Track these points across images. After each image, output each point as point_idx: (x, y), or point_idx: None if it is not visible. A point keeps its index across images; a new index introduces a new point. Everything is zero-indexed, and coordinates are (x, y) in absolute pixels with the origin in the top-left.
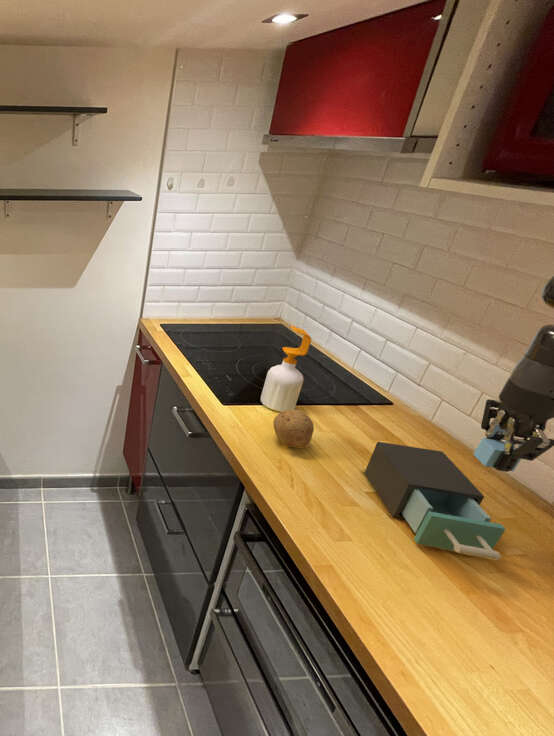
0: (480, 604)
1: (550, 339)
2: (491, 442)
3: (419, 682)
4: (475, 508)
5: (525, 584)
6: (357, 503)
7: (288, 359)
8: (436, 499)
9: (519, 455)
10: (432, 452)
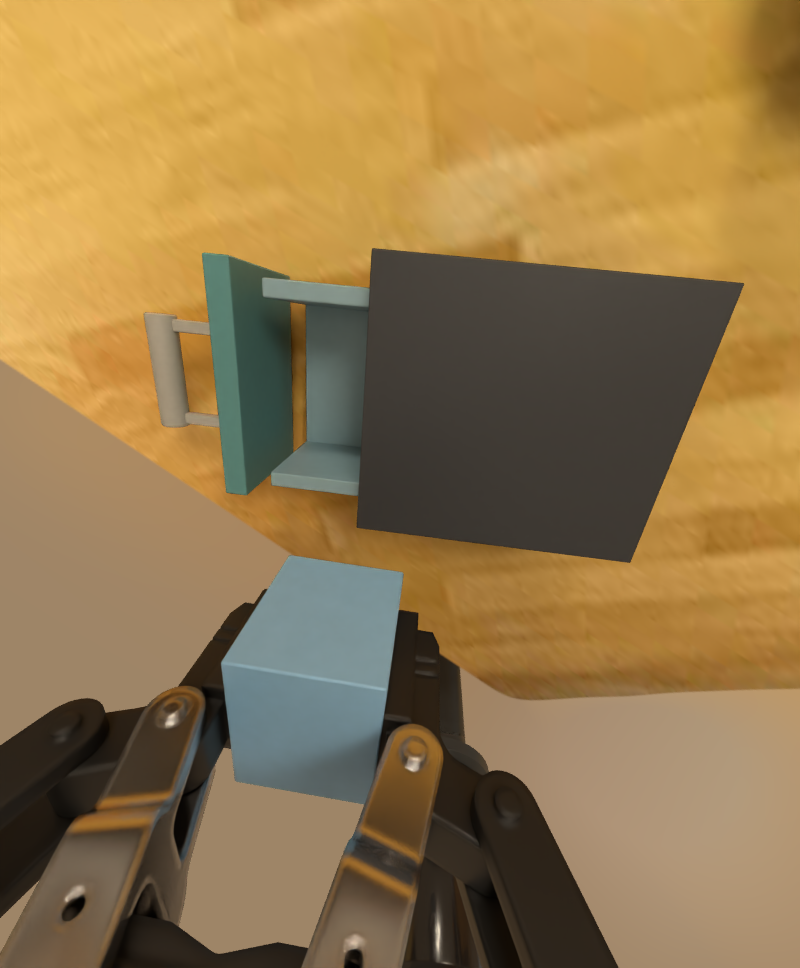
0: (130, 339)
1: None
2: (327, 704)
3: None
4: (324, 475)
5: None
6: (448, 166)
7: None
8: None
9: (1, 745)
10: (625, 519)
